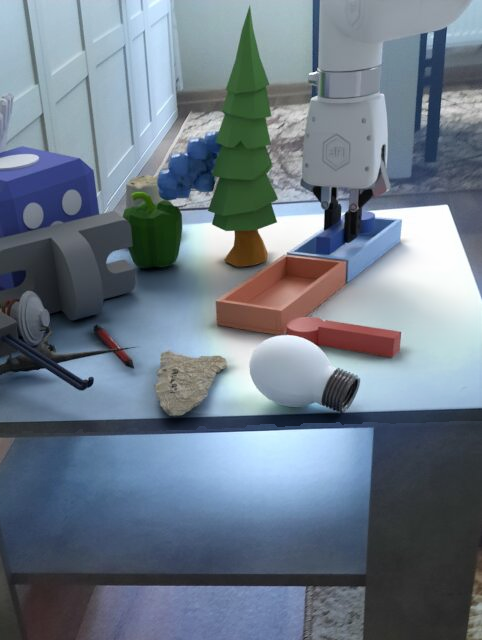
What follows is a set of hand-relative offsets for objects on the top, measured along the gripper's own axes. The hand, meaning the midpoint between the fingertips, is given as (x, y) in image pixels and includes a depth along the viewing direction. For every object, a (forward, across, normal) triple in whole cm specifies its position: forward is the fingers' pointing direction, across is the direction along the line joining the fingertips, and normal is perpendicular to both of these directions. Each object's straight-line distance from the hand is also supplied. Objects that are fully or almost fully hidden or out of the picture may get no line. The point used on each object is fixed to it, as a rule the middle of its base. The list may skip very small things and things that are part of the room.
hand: (341, 237), depth 117 cm
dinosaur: (+1, -18, -40) cm, 44 cm away
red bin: (+3, 0, -17) cm, 17 cm away
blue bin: (+3, 0, +1) cm, 3 cm away
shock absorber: (+1, -35, -42) cm, 55 cm away
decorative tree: (+3, -13, -4) cm, 14 cm away
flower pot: (-6, -32, 0) cm, 32 cm away
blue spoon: (0, 0, +1) cm, 1 cm away
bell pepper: (+3, -24, -10) cm, 26 cm away
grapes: (-6, -21, 0) cm, 22 cm away
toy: (+2, -51, -11) cm, 52 cm away
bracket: (-2, -28, -26) cm, 38 cm away
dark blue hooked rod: (-3, -34, -44) cm, 55 cm away
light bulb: (+1, +20, -40) cm, 45 cm away
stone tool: (+2, -1, -35) cm, 35 cm away
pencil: (+3, -12, -37) cm, 39 cm away
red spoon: (+3, +12, -25) cm, 28 cm away
